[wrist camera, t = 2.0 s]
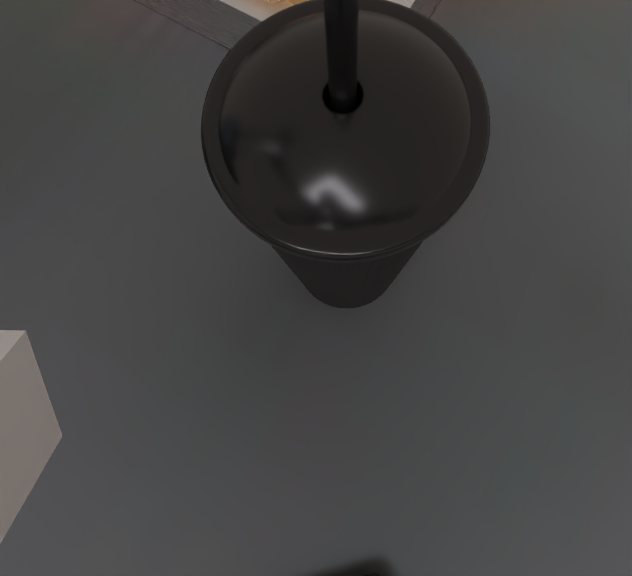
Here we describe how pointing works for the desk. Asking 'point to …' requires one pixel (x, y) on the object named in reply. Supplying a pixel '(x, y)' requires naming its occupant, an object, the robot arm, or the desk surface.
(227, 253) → the desk surface
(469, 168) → the drinking cup
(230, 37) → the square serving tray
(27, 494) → the robot arm
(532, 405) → the desk surface
